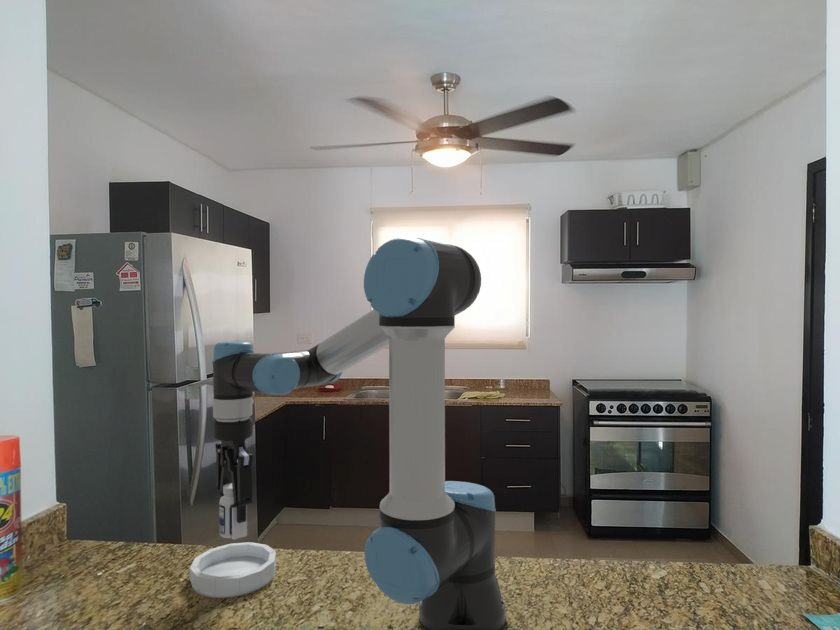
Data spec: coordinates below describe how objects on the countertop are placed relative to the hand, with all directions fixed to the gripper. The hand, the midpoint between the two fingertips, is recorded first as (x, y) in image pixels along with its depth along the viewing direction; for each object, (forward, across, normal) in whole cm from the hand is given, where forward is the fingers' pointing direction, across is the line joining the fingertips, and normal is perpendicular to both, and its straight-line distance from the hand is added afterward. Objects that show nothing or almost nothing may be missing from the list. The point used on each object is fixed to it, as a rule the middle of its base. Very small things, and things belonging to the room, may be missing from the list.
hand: (233, 532), depth 109 cm
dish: (+9, 0, 0) cm, 9 cm away
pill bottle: (0, 0, 0) cm, 0 cm away
